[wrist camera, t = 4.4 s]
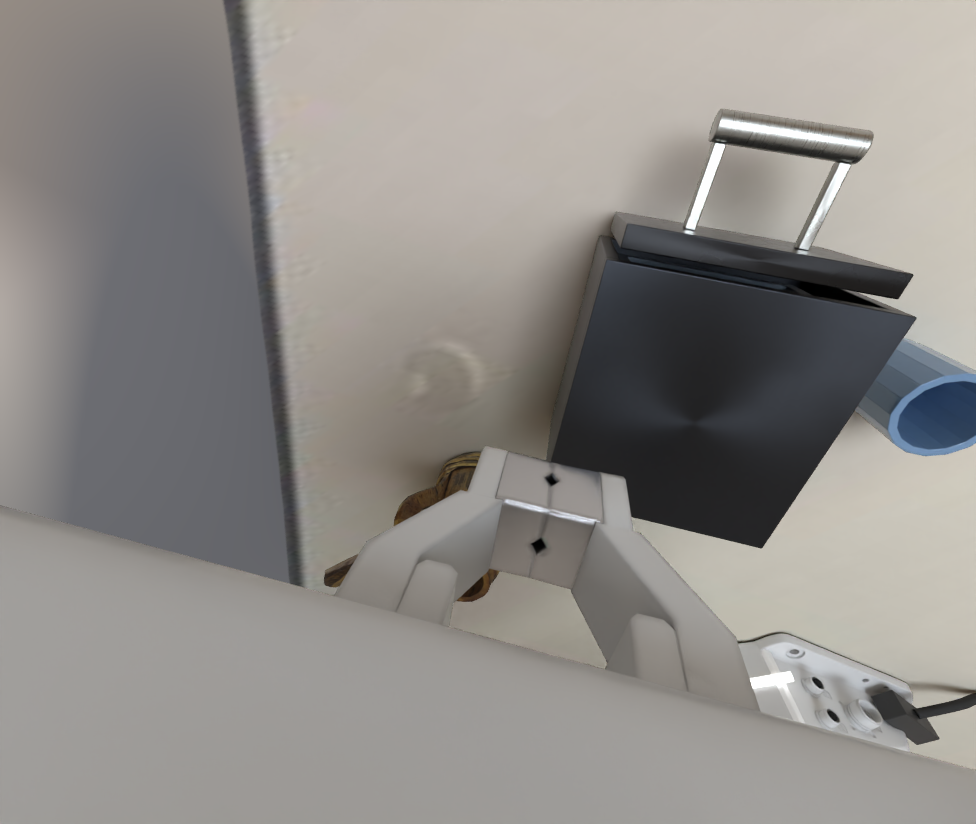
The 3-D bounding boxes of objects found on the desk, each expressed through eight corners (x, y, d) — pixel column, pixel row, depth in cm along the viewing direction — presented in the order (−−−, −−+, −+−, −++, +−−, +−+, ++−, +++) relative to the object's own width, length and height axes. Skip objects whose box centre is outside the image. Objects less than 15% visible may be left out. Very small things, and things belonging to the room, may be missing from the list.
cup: (947, 346, 30) (1032, 385, 24) (897, 415, 32) (963, 464, 27) (862, 330, 30) (926, 364, 25) (820, 399, 33) (868, 444, 27)
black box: (599, 234, 30) (606, 259, 21) (812, 273, 29) (917, 317, 20) (551, 419, 38) (541, 495, 29) (717, 457, 37) (762, 548, 28)
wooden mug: (449, 402, 39) (363, 547, 24) (545, 497, 42) (524, 680, 27) (391, 450, 43) (285, 601, 28) (483, 534, 47) (433, 712, 31)
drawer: (642, 112, 26) (666, 86, 18) (874, 148, 25) (1002, 135, 17) (564, 398, 36) (560, 457, 28) (727, 434, 35) (767, 505, 27)
